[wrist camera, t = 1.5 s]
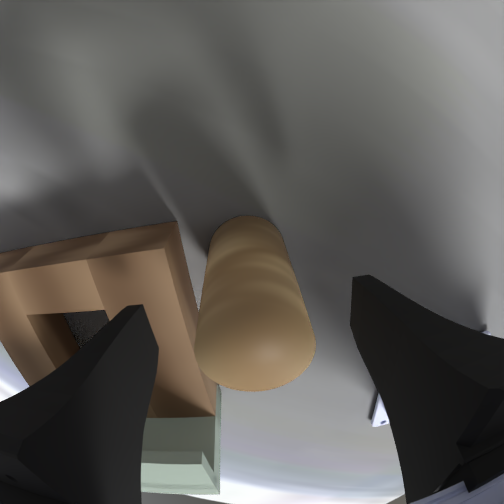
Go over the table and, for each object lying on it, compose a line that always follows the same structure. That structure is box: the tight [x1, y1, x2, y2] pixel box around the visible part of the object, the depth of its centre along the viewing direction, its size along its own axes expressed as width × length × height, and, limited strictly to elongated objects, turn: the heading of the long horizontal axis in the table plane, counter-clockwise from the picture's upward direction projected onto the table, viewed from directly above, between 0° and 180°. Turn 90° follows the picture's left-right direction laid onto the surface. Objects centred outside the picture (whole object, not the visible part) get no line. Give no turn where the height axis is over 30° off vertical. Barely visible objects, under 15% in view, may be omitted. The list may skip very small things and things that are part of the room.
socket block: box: [0, 221, 221, 418], centre depth 16 cm, size 12×12×3 cm
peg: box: [194, 216, 316, 392], centre depth 12 cm, size 4×4×7 cm
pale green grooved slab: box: [141, 383, 221, 495], centre depth 16 cm, size 12×4×8 cm, turn 97°
